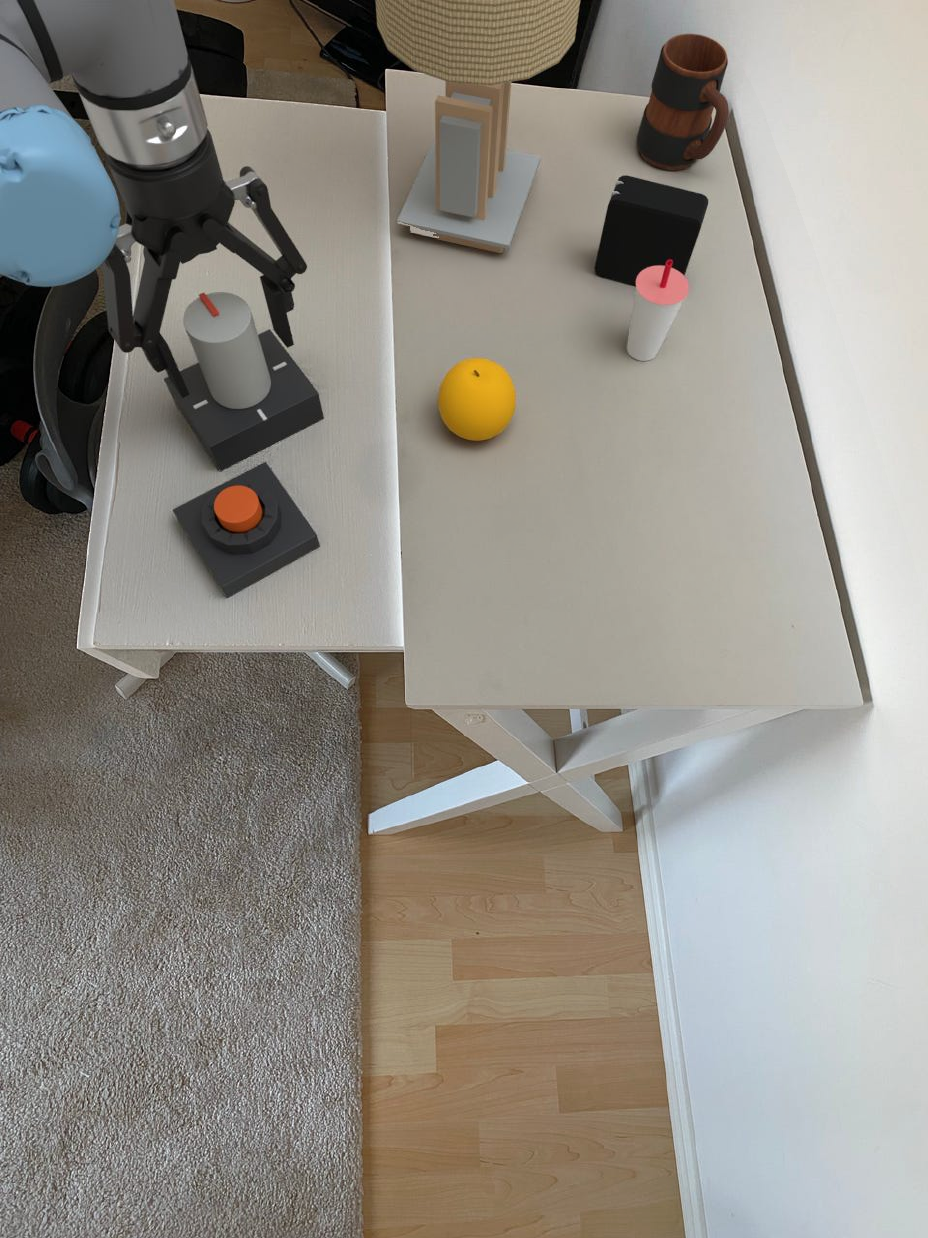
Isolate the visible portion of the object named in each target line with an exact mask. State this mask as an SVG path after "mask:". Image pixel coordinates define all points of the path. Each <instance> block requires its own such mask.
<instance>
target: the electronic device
mask: <svg viewBox="0 0 928 1238" xmlns="http://www.w3.org/2000/svg"><path fill="white" fill-rule="evenodd" d="M708 205H709V199H708V197H707V195H706V194H703V193H699V192H696V191H692V190H688V189H683V188H680V187H676V186H671V185H667V184H664V183H659V182H655V181H652V180H648V179H643V178H639V177H635V176H631V175H627V174H626V175H621V176H619V177H618V179H617V180H615V184H614V188H613V191H611V195H610V199H609V202H608V204H607V208H606V212H605V217H604V221H603V226H602V231H601V236H600V240H599V246H598V250H597V254H596V259H595V264H594V269H593V270H594V273H595V275H596V276H598V277H600V278H603V279H605V280H606V279H607V280H611V281H614V282H619V283H622V284H626V285H629V286H633V287H636V278H637V276H638V274H639V273H640V272H641V271H642V270H644V269H646V268H648V267H651V266H665V265H666V262H667V261H668V260H669V259H671V260H672V261H673V263H672V267H671V268H674V269H676V270H678V271H679V272H680V273H682V274H683V275H684V276H685V275H686V272H687V269H688V267H689V264H690V262H691V258H692V255H693V252H694V249H695V246H696V243H697V241H698V238H699V235H700V233H701V229H702V226H703V223H704V219H705V216H706V213H707V209H708V207H709V206H708Z"/></svg>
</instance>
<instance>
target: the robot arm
mask: <svg viewBox="0 0 928 1238" xmlns="http://www.w3.org/2000/svg"><path fill="white" fill-rule="evenodd" d="M68 76H71V78H72V80H73V83H74V85H75V88H76V89H77V91H78V94H79V96H80V99H81V101H82V104H83V107H84V109H85V112H86V114H87V116H88V119H89V121H90V123H91V127H92V129H93V132H94V134H95V136H96V140H97V141H98V144H99V146H100V147H101V148H102V150H103V151H104V158H105V161H106V163H107V165H108V168H109V170H110V172H111V175H112V177H113V180H114V183H115V185H116V187H117V190H118V192H119V195H120V197H121V199H122V202H123V204H124V207H125V219H124V222H125V223H124V224H122V225H120V223H121V220H122V217H121V212H120V211H121V210H120V203H119V197H118V194H117V190H116V188H115V186H114V184H113V182H112V180H111V178H110V176H109V174H108V172H107V170H106V168H105V167H104V164H103V162H102V160H101V159H100V157H99V154H98V153H97V150H96V148H95V146H94V145H93V143H92V139H91V136H89V134H88V133H87V132H86V131H85V130H84V129H83V128H82V126H81V125H80V124H79V123H78V121H76V120H75V119H74V118H73V116H72V115H71V114H70V112H69V111H68V109H67V108H66V106H65V105H64V104H63V102H62V101H61V100H60V98H59V97H58V95H57V94H56V93H55V91H54V90H53V89H52V88H51V86H50V85H49V84H53V83H56V82H58V81H62V80H63V79H64V78H65V77H68ZM198 87H199V86H198V84H197V79H196V77H195V72H194V69H193V66H192V63H191V60H190V55H189V53H188V51H187V46H186V43H185V38H184V35H183V31H182V26H181V23H180V18H179V15H178V11H177V7H176V3H175V0H0V275H1V276H5V277H6V278H9V279H12V280H14V281H16V282H20V283H23V284H25V285H26V286H33V287H41V288H49V287H58V286H65V285H67V284H70V283H74V282H76V281H78V280H80V279H83V278H84V277H86V276H89V275H91V274H92V273H93V272H94V271H96V270H97V269H98V268H100V266H101V267H102V278H103V289H104V298H105V307H106V308H105V309H106V317H107V318H106V319H107V327H108V332H109V334H110V335H111V337H112V338H113V340H114V342H115V343H116V345H117V346H118V347H119V349H120V351H121V352H122V353H125V354H128V353H131V352H134V350H135V348H141V349H142V352H143V354H144V356H145V358H146V360H147V362H148V363H149V364H150V367H151V368H152V369H153V370H154V371H155V372H156V373H157V374H159V373H161V372H163V371H165V372H166V374H167V377H169V379H170V380H171V382H172V383H173V385H174V386H175V388H176V389H177V391H178V392H179V394H180V395H181V397H182V398H184V397H186V396H188V395H190V394H189V392H188V389H187V387H186V385H185V383H184V380H183V378H182V376H181V373H180V371H181V370H180V369H179V366H178V364H177V362H176V360H175V357H174V356H173V352H172V351H171V348H170V346H169V344H168V342H167V341H166V339H165V338H164V336H163V334H162V333H161V328H162V324H163V320H164V315H165V311H166V307H167V303H168V300H169V294H170V290H171V286H172V282H173V280H176V279H177V276H178V272H179V268H180V264H181V265H184V264H186V263H189V262H192V260H193V259H195V258H196V257H198V256H200V255H204V254H208V253H212V252H214V251H216V250H218V247H217V246H218V245H219V244H220V245H221V246H223V247H224V248H225V249H227V250H228V251H229V252H231V253H232V254H235V255H237V256H238V257H239V258H241V259H242V260H244V261H245V262H246V263H247V264H249V265H250V266H251V267H252V268H254V269H255V270H256V271H258V272H259V273H261V274H262V275H260V276H259V279H260V284H261V287H262V291H263V295H264V298H265V302H266V306H267V310H268V314H269V318H270V321H271V325H272V330H273V331H274V333H275V334H276V335H277V337H278V338H279V339H280V340H281V342H282V343H283V345H284V346H285V347H286V348H287V349H288V348H290V347H292V346H295V342H294V338H293V334H292V331H291V330H292V329H291V326H290V325H291V324H290V321H289V318H288V313H290V312H291V311H294V308H295V302H294V297H293V294H292V292H294V290H295V288H296V284H295V282H294V281H293V280H292V278H293V277H295V276H296V274H297V275H303V274H304V273H305V272H306V271H307V270H308V264H307V263H306V261H305V259H304V258H303V256H302V255H301V253H300V251H299V249H298V247H297V245H295V243H294V242H293V240H292V238H291V237H290V235H289V233H288V232H287V230H286V229H285V227H284V226H283V224H282V223H281V221H280V219H279V218H278V216H277V215H276V213H275V211H274V210H273V208H272V204H271V200H270V199H271V198H270V193H269V189H268V186H267V184H266V183H265V182H264V181H263V180H262V178H261V177H260V176H259V175H258V174H257V172H256V171H255V170H254V169H253V168H252V167H251V166H250V165H246V166H243V167H241V169H240V170H239V173H238V174H239V177H237V178H233V179H232V180H231V179H230V180H228V181H225V180H224V177H223V172H222V168H221V165H220V162H219V158H218V154H217V151H216V147H215V143H214V140H213V137H212V134H211V132H210V130H209V128H208V126H209V125H208V119H207V115H206V111H205V109H204V106H203V101H202V98H201V94H200V90H199V88H198ZM236 201H240V203H241V204H242V205H243V206H244V208H247V209H251V210H252V212H253V213H254V215H255V217H256V218H257V220H258V221H259V222H260V224H261V226H262V228H264V229H263V230H265V232H266V233H267V235H268V236H269V238H270V239H271V241H272V242H273V244H274V245H275V247H276V249H277V250H278V251H279V252H280V254H281V256H280V257H278V258H277V259H275V258H273V257H272V256H271V255H270V254H269V253H267V252H266V251H265V250H263V249H262V248H261V247H260V246H259V245H257V244H256V243H255V242H254V241H252V240H251V239H250V238H248V236H246V235H245V234H244V233H242V232H241V231H239V230H238V229H237V228H235V226H233V224H231V223H230V222H229V221H230V218H231V215H232V213H233V210H234V207H235V204H236ZM135 243H137V244H139V245H141V246H143V251H142V254H143V258H144V262H143V266H142V270H141V275H140V282H139V284H138V285H139V286H138V290H137V294H136V295H137V296H136V301H135V305H134V308H133V297H132V296H133V295H132V283H131V272H130V270H129V266H128V264H129V263H130V262H131V261H132V257H131V256H132V246H133V244H135ZM133 309H134V310H133Z"/></svg>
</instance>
